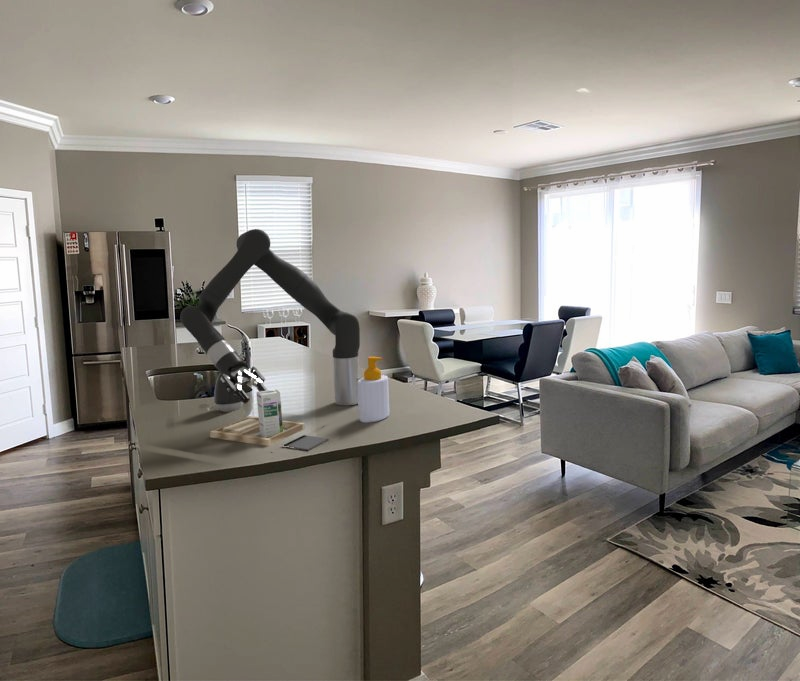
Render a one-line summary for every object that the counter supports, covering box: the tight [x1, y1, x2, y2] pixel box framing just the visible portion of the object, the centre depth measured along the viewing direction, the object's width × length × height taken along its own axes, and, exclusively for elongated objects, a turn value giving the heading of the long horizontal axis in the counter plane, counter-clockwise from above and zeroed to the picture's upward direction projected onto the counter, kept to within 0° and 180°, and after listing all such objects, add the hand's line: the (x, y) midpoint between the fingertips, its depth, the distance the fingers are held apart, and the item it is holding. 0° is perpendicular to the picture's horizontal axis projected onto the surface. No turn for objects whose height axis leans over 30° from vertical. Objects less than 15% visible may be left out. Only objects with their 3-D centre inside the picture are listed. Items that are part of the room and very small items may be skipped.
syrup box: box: [256, 389, 284, 438], centre depth 171 cm, size 6×6×14 cm
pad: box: [283, 434, 330, 452], centre depth 167 cm, size 10×10×1 cm
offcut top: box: [223, 419, 259, 434], centre depth 177 cm, size 6×11×2 cm, turn 150°
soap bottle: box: [357, 356, 390, 424], centre depth 189 cm, size 13×8×20 cm, turn 148°
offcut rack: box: [209, 416, 306, 447], centre depth 174 cm, size 22×17×3 cm
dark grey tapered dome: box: [213, 372, 244, 413], centre depth 205 cm, size 10×10×15 cm
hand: (257, 398), depth 173 cm, fingers open, 8 cm apart
